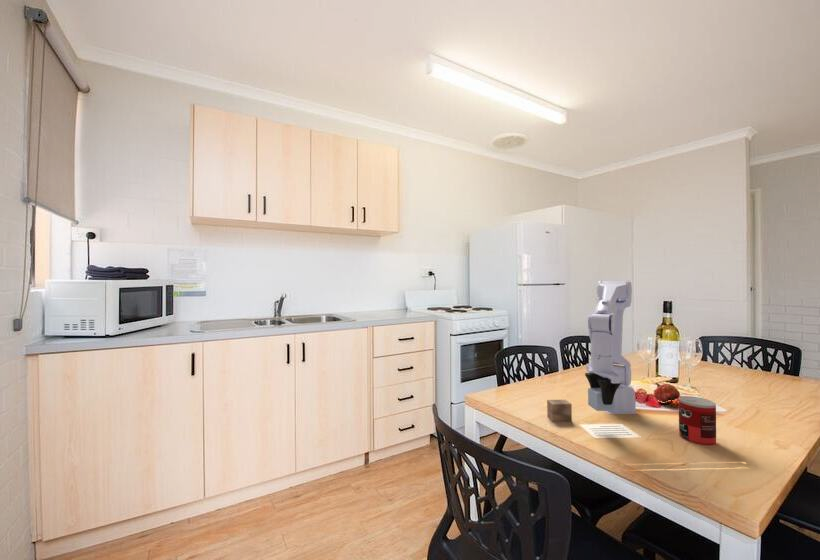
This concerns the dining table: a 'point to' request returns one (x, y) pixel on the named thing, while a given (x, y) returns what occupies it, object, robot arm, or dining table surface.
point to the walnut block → (559, 410)
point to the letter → (609, 431)
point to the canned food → (697, 420)
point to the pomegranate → (666, 392)
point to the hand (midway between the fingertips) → (602, 400)
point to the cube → (598, 400)
